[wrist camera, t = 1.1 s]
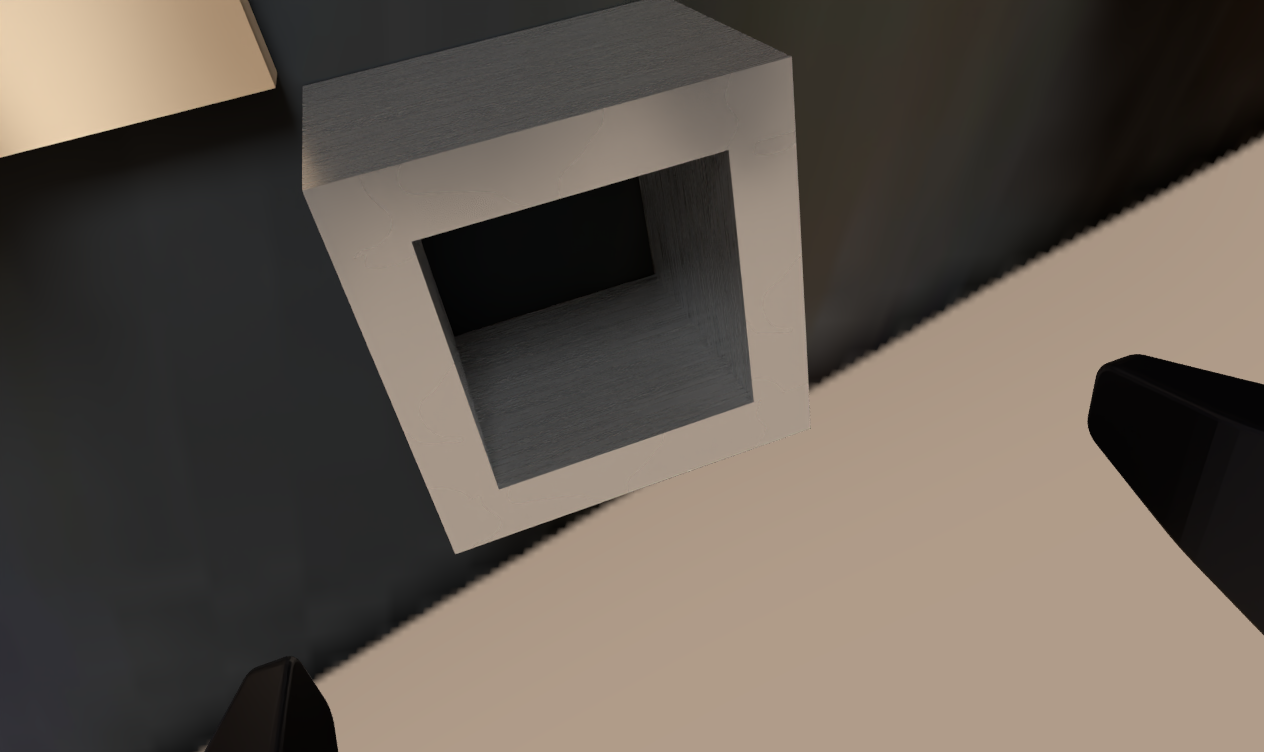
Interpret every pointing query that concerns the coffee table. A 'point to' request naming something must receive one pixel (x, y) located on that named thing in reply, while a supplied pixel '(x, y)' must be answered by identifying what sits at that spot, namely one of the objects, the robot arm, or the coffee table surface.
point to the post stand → (120, 64)
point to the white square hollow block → (593, 324)
